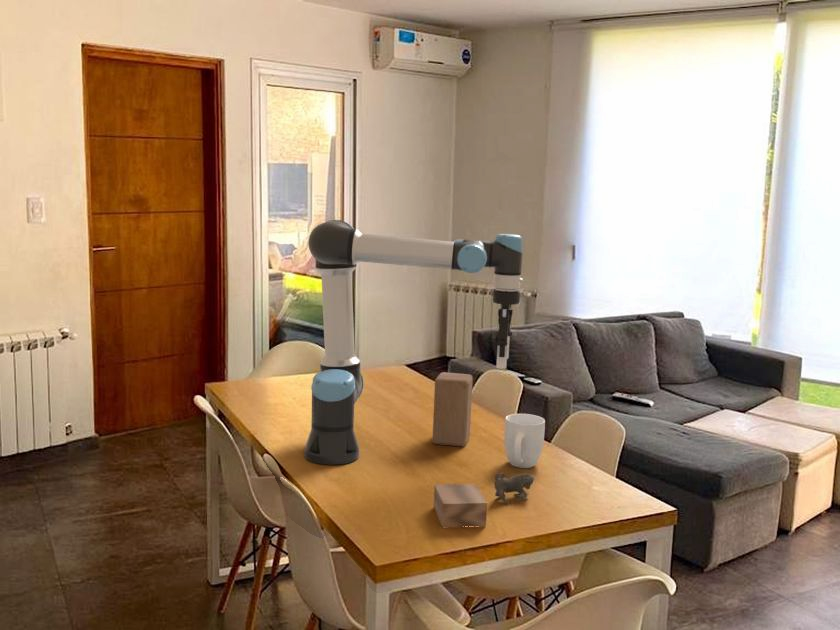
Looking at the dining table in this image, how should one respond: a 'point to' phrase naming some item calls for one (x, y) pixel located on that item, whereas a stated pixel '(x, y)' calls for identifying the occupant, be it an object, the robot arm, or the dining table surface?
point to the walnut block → (460, 505)
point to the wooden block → (452, 409)
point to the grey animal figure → (513, 485)
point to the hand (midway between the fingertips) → (502, 363)
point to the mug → (524, 439)
